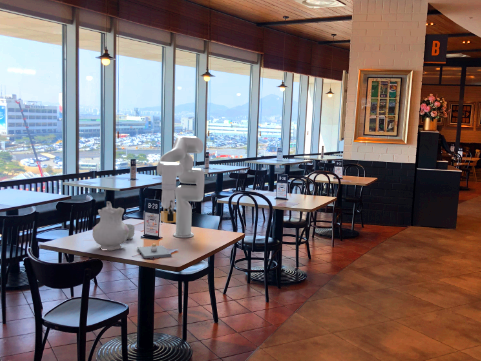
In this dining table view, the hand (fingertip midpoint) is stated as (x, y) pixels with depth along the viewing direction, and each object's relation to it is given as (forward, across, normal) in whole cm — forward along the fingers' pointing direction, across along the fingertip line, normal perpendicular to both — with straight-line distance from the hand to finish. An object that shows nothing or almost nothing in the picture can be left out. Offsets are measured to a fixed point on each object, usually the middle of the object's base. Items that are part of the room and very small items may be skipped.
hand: (168, 219), depth 252 cm
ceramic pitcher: (+18, -20, -27) cm, 38 cm away
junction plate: (+18, -1, -7) cm, 19 cm away
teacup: (+18, -37, -16) cm, 44 cm away
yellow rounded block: (+1, 0, 0) cm, 1 cm away
